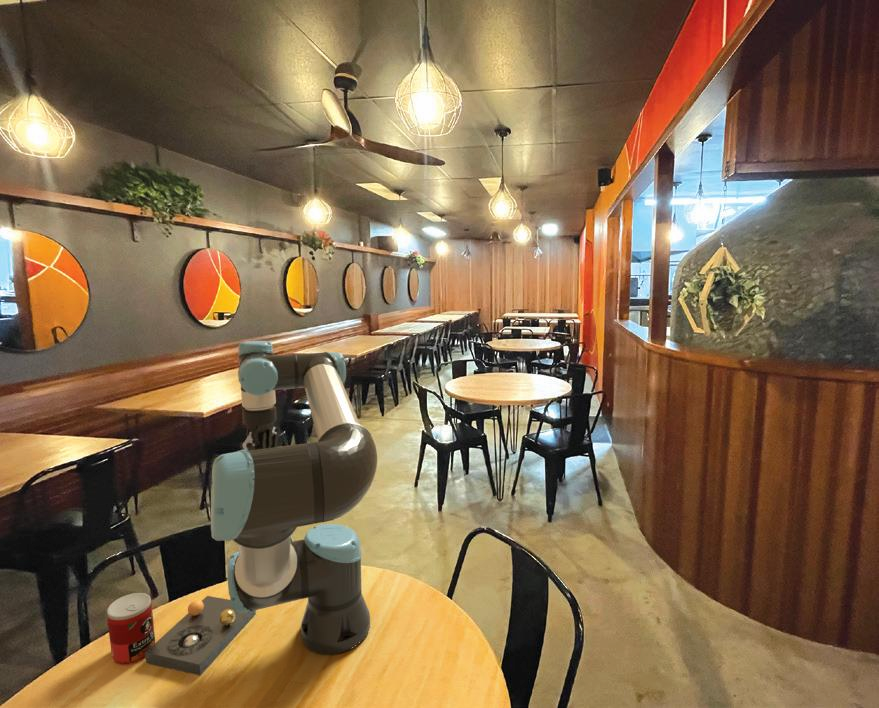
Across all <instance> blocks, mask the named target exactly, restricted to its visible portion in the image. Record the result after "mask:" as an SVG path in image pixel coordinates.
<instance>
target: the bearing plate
mask: <svg viewBox="0 0 879 708" xmlns="http://www.w3.org/2000/svg"><path fill="white" fill-rule="evenodd" d="M201 601H202V602H203V604H204V608H203V610H202V612H201V613H200V614H198V615H196V616H192V615H190V614H189V613H187V614H185V616H183V617H182V618H181V619H180V620H179V621H178V622H176V624H174V625H173V626H172V627H171V628H170V629H169V630H167V632H166V633H165V634H164V635H162V636H161V637H160V638H158V640H156V641H155V644H154V645H153V646H151V647H150V648H149V649H148V650H147V651H146V652H145V658H144V659H145V664H147V665H152V666H156V667H160V668H165V669H170V670H173V671H178V672H181V673H182V672H183V673H188V674H191V675H196V676H202V675H203V674H204V672H206V670H207V669H208V668H209V667H210V666H211V665H212V664H213V663H214V661H215V660H216V659H217V658H218V657H219V655H221V654H222V653H223V651H225V649H227V647H228V646H229V645H230V643H232V641H233V640H234V639H235V638H236V637H237V636H238V634H239V633H240V632H241V631H242V630H243V629H244V628H245V627H246V625H247V624H248V623H250V621H251V620H252V619H253V617H255V616H256V614H257V612H256V611H257V610H256V611H254V612H244V613H238V612H236V611H235V610H234V609H233V607H232V605H231V601H230V599H226V598H221V597H216V596H210V595H206V597H204V598H203V599H202V600H201ZM226 609H231V610H233V611H234V612H235V619H234V621H233V622H232V623H231V624H230V625H227V626H224V625H222V624H221V623H220V621H219V618H220V615H221V613H222V612H223V611H224V610H226ZM190 635H197V636H198V637H199V639H200V642H199V643H198V644H197V645H195V646H193V647H190V648H185V649H184V648H183V642H184V640H185V639H186V638H187V637H188V636H190Z"/></svg>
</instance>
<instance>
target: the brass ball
mask: <svg viewBox="0 0 879 708" xmlns="http://www.w3.org/2000/svg"><path fill="white" fill-rule="evenodd" d="M234 619H235V612H234V611H233V610H231V609H226V610H224V611H223V612H222V613H221V615H220V618H219V621H220V623H221V624H222V625H224V626H227V625H230V624H231V623H232V622H233V621H234Z"/></svg>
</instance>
